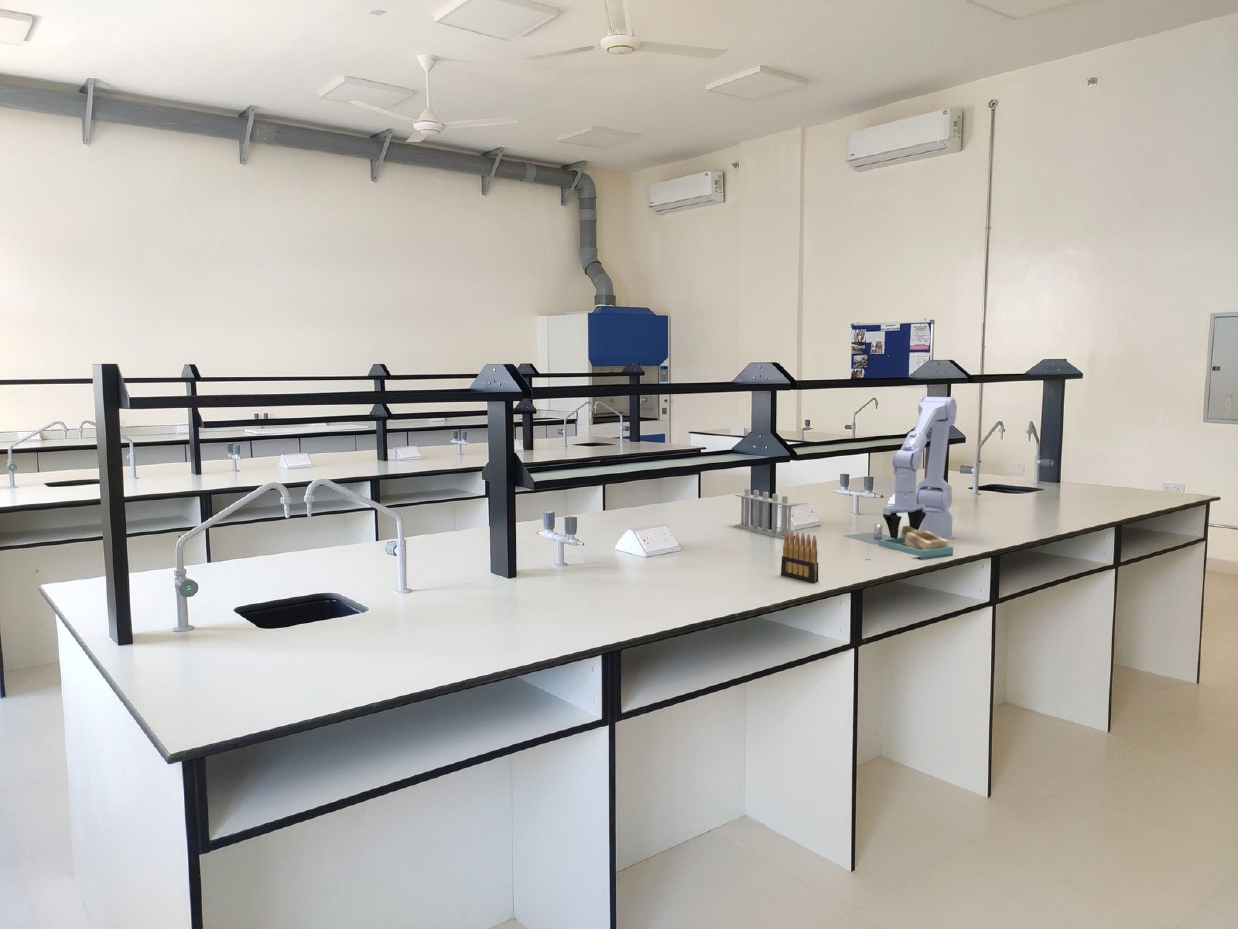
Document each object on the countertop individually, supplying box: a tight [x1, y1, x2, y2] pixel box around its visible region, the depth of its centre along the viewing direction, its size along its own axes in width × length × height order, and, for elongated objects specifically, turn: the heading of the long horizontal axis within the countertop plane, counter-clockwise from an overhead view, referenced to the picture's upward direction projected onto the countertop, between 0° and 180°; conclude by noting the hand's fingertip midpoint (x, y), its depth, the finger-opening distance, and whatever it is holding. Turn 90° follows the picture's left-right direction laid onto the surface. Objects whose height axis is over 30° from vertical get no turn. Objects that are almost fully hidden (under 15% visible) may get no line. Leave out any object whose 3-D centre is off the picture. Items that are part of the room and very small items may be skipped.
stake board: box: [843, 523, 891, 545], centre depth 259 cm, size 14×13×5 cm
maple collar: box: [900, 525, 949, 550], centre depth 244 cm, size 12×8×4 cm, turn 26°
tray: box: [877, 536, 954, 561], centre depth 244 cm, size 12×17×2 cm
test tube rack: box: [734, 488, 799, 541], centre depth 272 cm, size 25×4×13 cm, turn 32°
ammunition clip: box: [780, 529, 819, 584], centre depth 214 cm, size 11×2×12 cm, turn 39°
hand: (903, 536), depth 248 cm, fingers open, 7 cm apart
